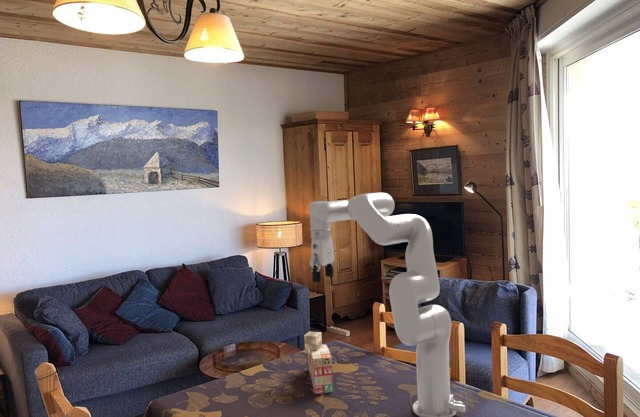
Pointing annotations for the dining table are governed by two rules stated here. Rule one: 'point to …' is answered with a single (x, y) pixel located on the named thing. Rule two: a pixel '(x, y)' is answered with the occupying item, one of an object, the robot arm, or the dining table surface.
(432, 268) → the robot arm
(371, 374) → the dining table surface
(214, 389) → the dining table surface
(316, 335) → the tan metal block
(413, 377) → the dining table surface
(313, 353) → the stack of blocks
